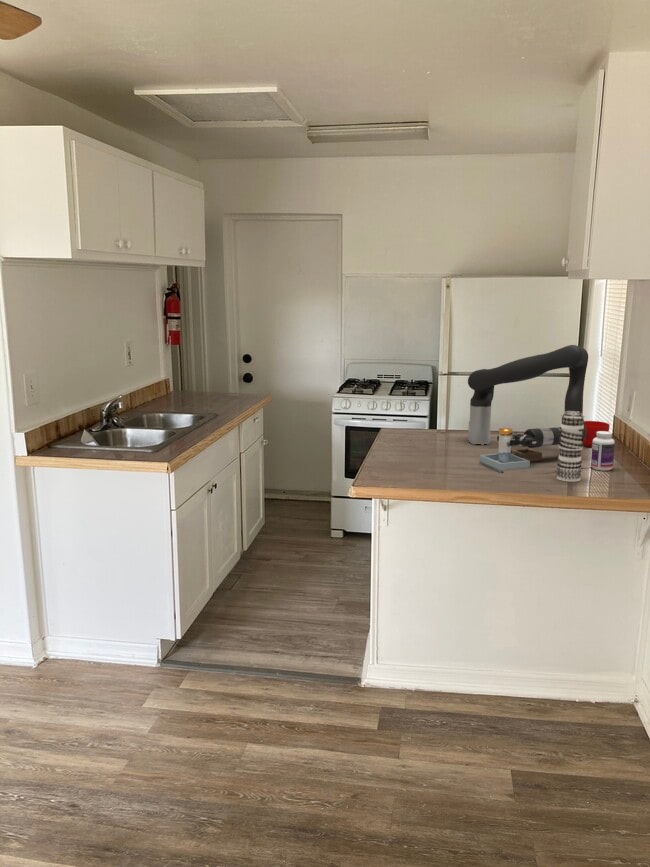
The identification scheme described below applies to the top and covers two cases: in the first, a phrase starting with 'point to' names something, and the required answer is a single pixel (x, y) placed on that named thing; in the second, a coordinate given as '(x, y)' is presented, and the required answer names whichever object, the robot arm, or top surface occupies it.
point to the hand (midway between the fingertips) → (503, 440)
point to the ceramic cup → (593, 431)
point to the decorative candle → (570, 446)
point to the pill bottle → (602, 451)
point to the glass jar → (504, 445)
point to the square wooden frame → (527, 454)
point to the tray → (493, 463)
